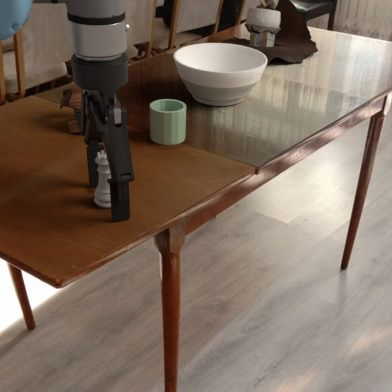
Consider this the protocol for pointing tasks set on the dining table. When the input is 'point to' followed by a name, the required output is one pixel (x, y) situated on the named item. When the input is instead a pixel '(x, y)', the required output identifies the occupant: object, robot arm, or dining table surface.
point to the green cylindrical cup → (167, 121)
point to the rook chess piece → (103, 181)
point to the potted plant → (277, 32)
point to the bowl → (219, 71)
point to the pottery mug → (74, 101)
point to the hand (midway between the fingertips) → (109, 201)
